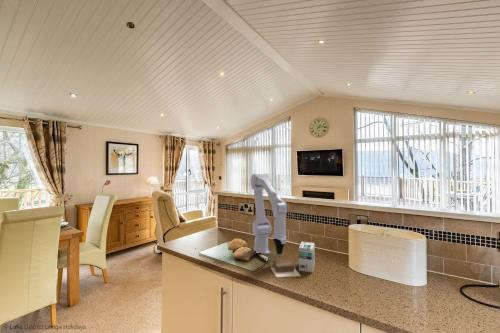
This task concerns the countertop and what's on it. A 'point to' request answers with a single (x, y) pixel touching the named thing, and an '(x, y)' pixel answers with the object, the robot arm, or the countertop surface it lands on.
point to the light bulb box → (306, 256)
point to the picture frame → (283, 265)
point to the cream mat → (285, 273)
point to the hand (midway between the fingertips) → (279, 253)
